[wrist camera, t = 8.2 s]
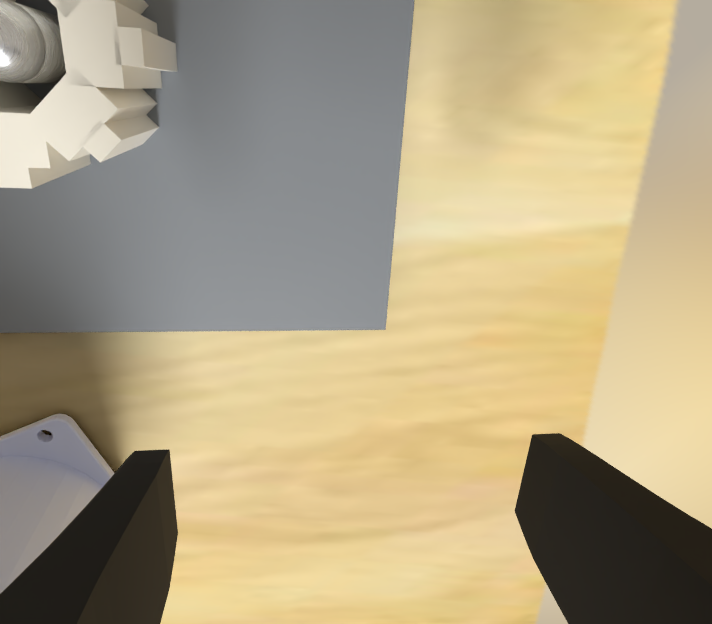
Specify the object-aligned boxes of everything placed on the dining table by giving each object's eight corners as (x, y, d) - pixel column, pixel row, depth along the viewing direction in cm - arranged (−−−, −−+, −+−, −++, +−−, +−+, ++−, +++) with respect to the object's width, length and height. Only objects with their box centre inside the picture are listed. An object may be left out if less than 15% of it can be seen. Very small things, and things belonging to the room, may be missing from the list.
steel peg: (51, 93, 14) (-26, 94, 11) (15, 31, 14) (-81, 9, 10) (105, 70, 14) (46, 64, 11) (71, 6, 13) (-4, -23, 10)
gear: (-80, 103, 14) (-206, 109, 10) (-36, -134, 12) (-169, -229, 8) (137, 193, 16) (94, 225, 12) (202, -5, 14) (176, -38, 10)
